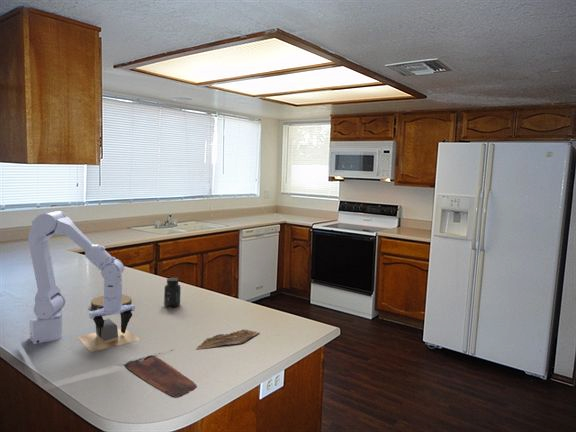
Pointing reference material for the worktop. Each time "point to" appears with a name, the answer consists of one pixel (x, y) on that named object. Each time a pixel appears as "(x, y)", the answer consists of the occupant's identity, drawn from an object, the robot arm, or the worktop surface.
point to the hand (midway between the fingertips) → (112, 334)
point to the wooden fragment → (228, 339)
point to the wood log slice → (99, 302)
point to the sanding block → (108, 332)
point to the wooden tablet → (162, 376)
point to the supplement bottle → (172, 293)
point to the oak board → (96, 344)
